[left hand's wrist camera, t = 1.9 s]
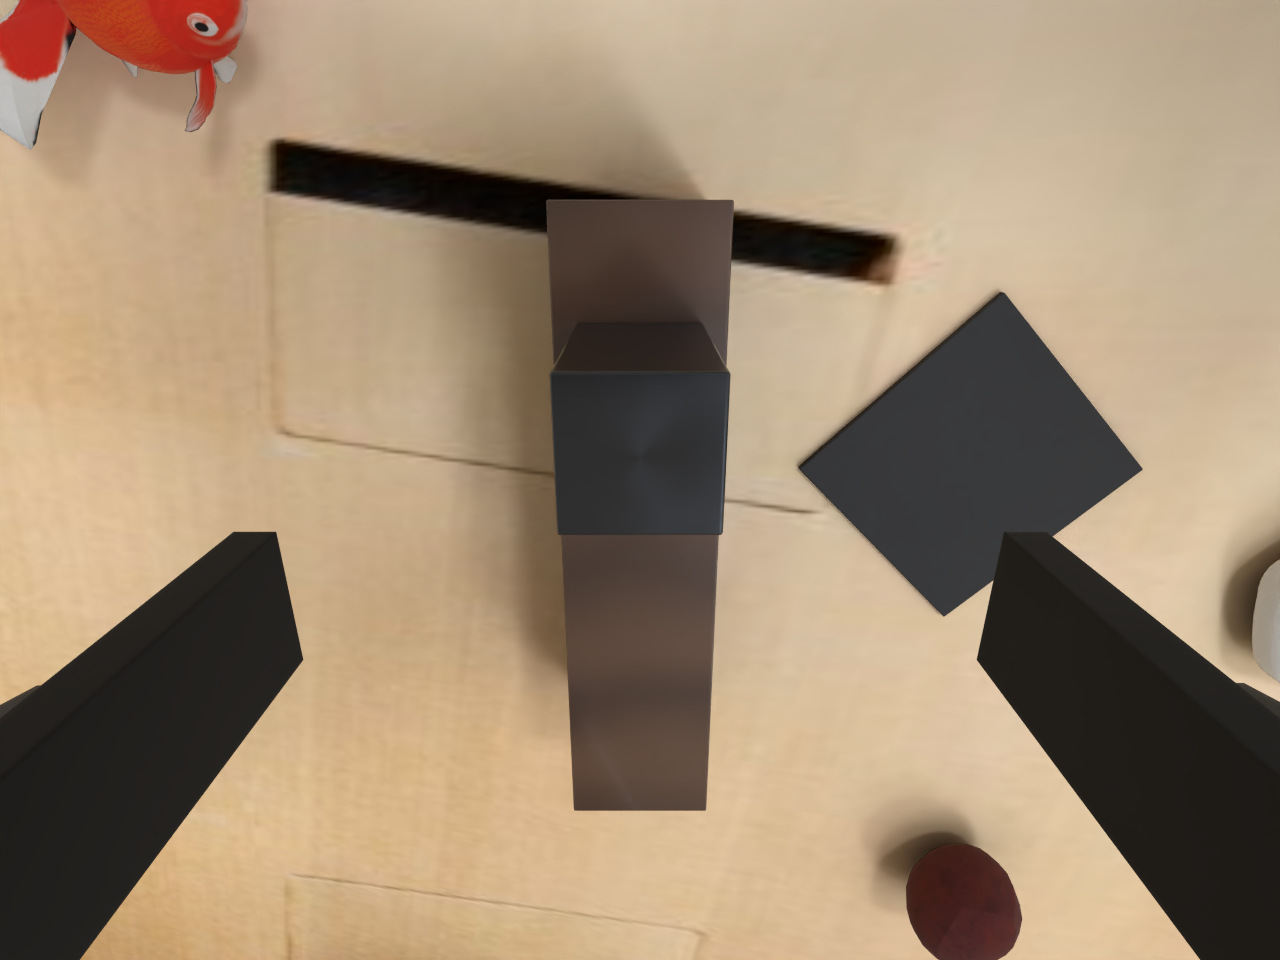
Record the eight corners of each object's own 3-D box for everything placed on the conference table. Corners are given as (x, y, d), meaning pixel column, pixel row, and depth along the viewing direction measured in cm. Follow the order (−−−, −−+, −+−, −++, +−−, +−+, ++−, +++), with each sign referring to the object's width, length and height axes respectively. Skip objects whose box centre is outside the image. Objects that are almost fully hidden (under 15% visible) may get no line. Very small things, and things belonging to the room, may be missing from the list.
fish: (268, 242, 31) (7, 110, 22) (56, 174, 36) (-230, 43, 27) (348, 14, 31) (120, -219, 22) (124, -22, 36) (-141, -223, 27)
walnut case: (570, 202, 35) (545, 199, 26) (709, 202, 35) (734, 199, 26) (587, 689, 46) (573, 811, 37) (692, 689, 46) (706, 811, 37)
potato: (878, 889, 53) (912, 986, 46) (912, 813, 50) (954, 905, 43) (970, 902, 53) (1016, 1000, 47) (1009, 828, 50) (1064, 921, 44)
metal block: (576, 322, 27) (549, 371, 19) (703, 321, 27) (730, 371, 19) (580, 442, 29) (556, 536, 21) (699, 442, 29) (723, 536, 21)
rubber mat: (1000, 291, 37) (1004, 292, 36) (1138, 467, 40) (1143, 469, 40) (798, 467, 40) (799, 469, 40) (941, 613, 44) (944, 617, 44)
